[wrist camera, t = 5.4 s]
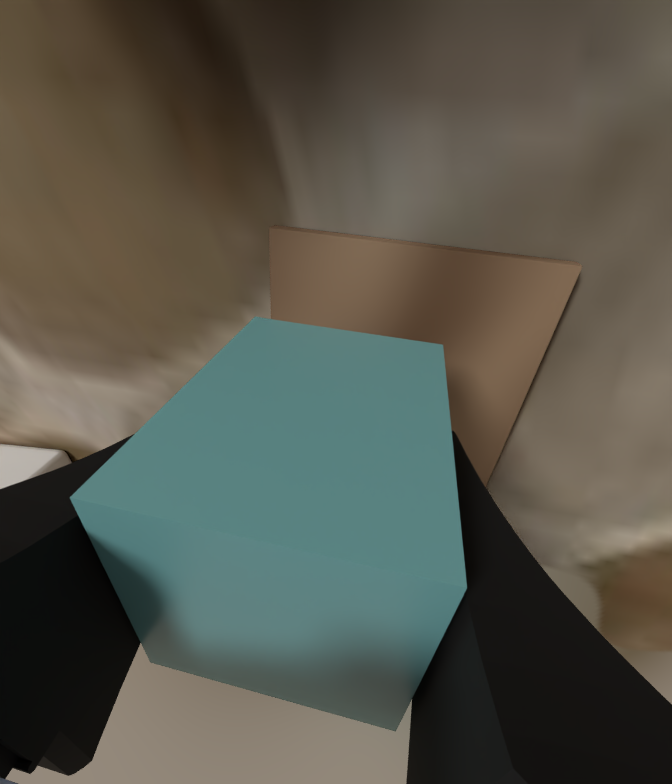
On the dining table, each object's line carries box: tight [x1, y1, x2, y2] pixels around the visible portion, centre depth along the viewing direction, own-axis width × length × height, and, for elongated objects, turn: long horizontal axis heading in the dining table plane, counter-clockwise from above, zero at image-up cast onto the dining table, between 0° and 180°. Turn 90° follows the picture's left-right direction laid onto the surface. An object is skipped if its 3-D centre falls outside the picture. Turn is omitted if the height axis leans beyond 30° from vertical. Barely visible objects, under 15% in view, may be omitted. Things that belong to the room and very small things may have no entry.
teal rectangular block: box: [70, 317, 467, 731], centre depth 9 cm, size 5×5×7 cm
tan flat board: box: [269, 225, 582, 487], centre depth 14 cm, size 9×11×1 cm
